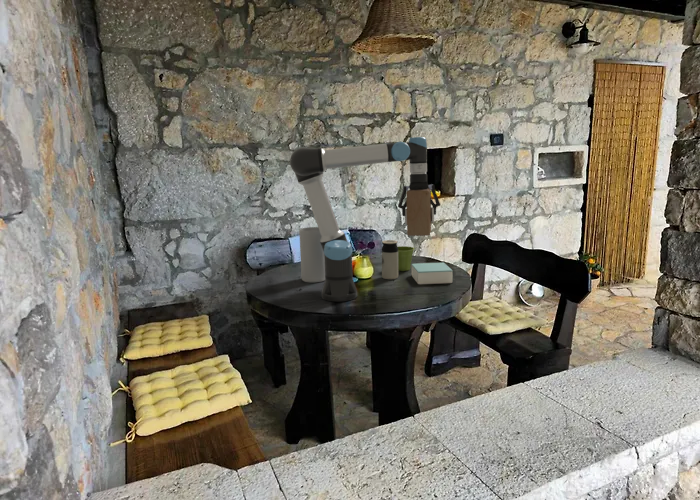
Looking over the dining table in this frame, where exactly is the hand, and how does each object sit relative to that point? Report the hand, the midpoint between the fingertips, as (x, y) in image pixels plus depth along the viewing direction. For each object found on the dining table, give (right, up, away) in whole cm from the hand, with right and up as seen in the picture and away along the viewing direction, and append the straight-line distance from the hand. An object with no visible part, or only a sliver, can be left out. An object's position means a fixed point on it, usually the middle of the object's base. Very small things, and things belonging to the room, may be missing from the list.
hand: (419, 222), depth 209 cm
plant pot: (-3, -23, +35) cm, 42 cm away
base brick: (+8, -26, +15) cm, 31 cm away
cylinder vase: (-48, -27, +20) cm, 59 cm away
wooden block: (0, -5, +1) cm, 5 cm away
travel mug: (-11, -26, +20) cm, 35 cm away
